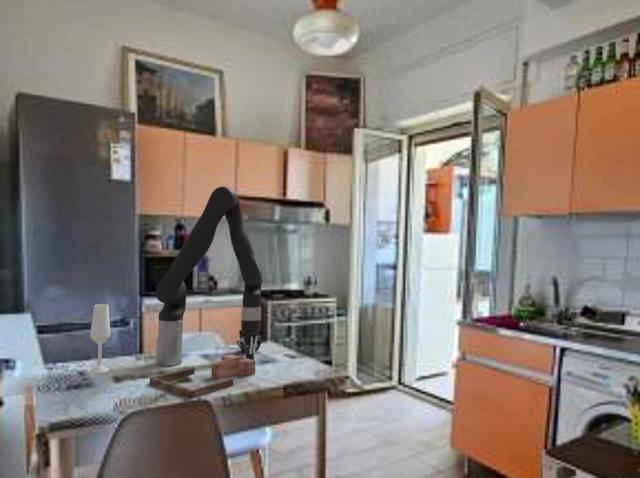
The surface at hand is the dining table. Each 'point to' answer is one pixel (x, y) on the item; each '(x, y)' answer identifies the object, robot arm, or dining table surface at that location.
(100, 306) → the champagne flute
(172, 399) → the dining table surface
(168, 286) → the robot arm
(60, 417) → the dining table surface
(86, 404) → the dining table surface
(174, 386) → the frame
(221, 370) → the t block
